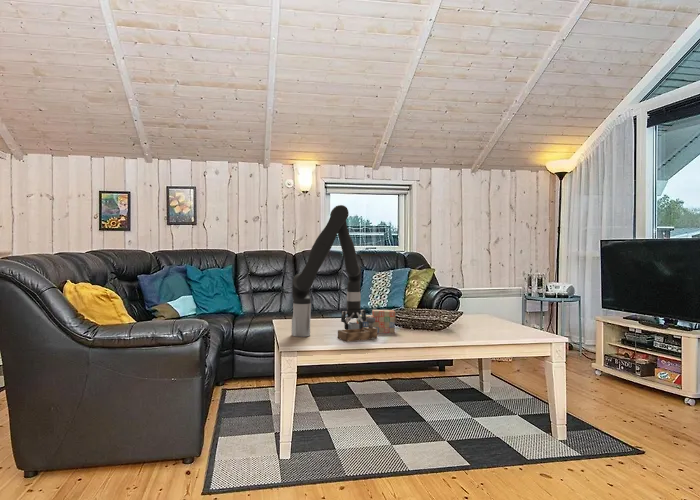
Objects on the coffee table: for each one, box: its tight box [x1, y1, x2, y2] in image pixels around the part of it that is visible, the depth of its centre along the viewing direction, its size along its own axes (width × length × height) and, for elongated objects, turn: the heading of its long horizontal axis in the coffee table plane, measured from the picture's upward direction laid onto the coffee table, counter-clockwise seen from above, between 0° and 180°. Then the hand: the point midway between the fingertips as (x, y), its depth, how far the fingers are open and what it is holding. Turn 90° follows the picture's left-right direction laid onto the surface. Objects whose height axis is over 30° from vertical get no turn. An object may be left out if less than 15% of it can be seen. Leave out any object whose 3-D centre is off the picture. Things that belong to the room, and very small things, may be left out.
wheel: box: [367, 317, 375, 323], centre depth 265 cm, size 5×5×2 cm
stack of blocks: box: [356, 309, 396, 334], centre depth 284 cm, size 21×6×12 cm, turn 94°
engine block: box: [348, 321, 359, 330], centre depth 272 cm, size 5×5×7 cm
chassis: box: [337, 322, 378, 342], centre depth 262 cm, size 19×10×8 cm, turn 118°
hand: (353, 329), depth 273 cm, fingers open, 8 cm apart
